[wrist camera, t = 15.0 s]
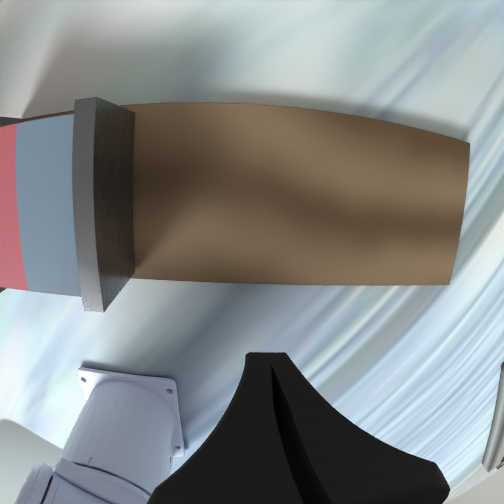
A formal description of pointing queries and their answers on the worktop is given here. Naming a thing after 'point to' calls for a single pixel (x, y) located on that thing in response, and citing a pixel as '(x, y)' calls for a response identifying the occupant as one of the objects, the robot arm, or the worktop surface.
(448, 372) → the worktop surface
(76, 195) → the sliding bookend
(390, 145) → the book shelf
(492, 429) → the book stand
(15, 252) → the red rectangular block
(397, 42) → the worktop surface
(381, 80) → the worktop surface
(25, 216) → the slate book
